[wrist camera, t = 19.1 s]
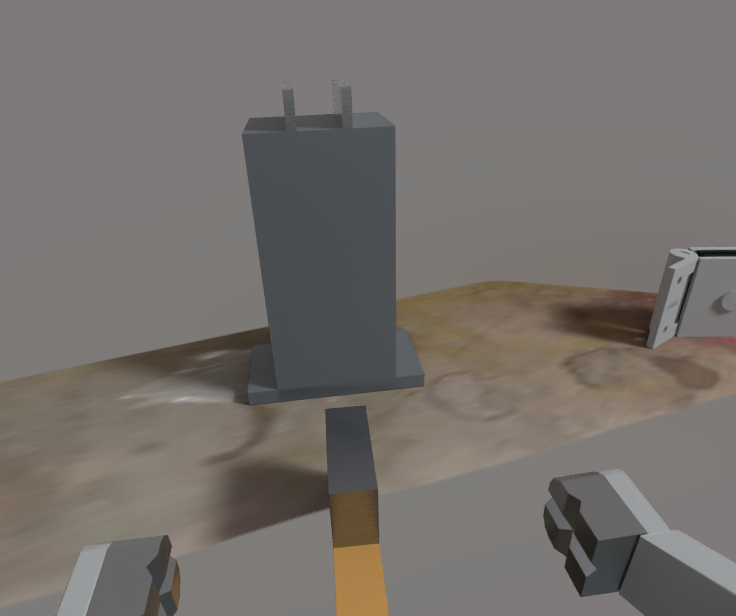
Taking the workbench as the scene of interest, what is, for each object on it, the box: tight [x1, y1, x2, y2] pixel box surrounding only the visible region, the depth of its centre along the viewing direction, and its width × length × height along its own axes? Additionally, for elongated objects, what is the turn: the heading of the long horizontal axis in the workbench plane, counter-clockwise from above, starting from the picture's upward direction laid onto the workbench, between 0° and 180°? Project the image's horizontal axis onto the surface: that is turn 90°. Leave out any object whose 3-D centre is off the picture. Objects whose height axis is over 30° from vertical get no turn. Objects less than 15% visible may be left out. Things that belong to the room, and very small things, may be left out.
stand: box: [242, 79, 424, 405], centre depth 49 cm, size 18×9×29 cm, turn 98°
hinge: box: [646, 247, 736, 349], centre depth 58 cm, size 14×5×10 cm, turn 100°
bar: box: [325, 406, 389, 616], centre depth 32 cm, size 3×18×8 cm, turn 6°
